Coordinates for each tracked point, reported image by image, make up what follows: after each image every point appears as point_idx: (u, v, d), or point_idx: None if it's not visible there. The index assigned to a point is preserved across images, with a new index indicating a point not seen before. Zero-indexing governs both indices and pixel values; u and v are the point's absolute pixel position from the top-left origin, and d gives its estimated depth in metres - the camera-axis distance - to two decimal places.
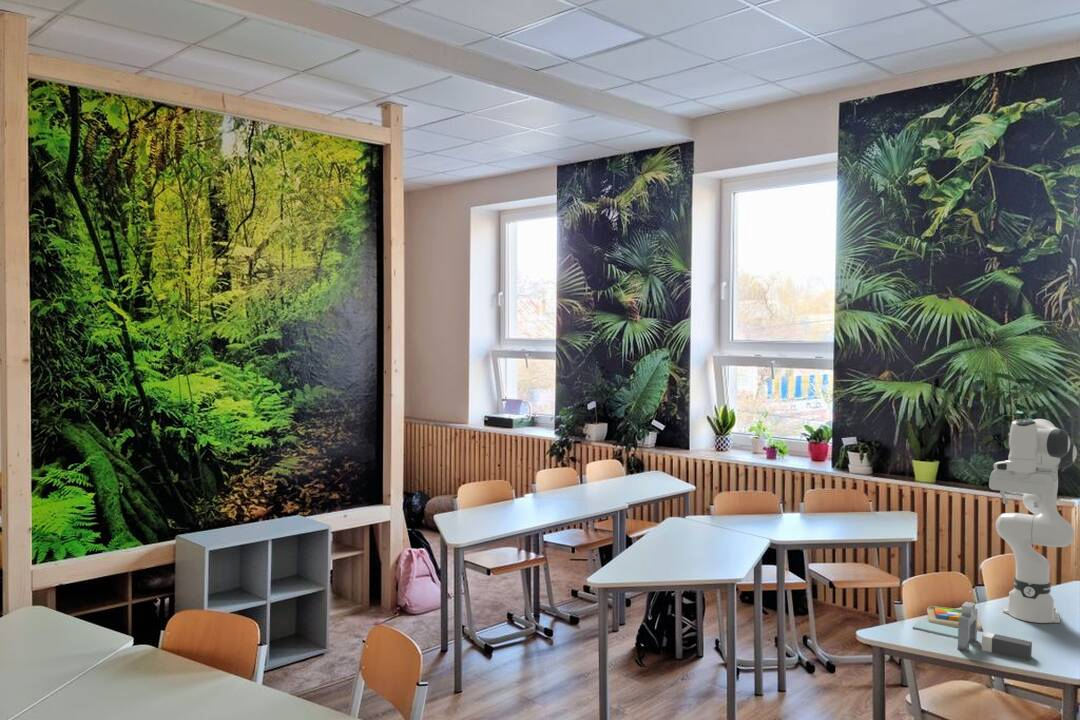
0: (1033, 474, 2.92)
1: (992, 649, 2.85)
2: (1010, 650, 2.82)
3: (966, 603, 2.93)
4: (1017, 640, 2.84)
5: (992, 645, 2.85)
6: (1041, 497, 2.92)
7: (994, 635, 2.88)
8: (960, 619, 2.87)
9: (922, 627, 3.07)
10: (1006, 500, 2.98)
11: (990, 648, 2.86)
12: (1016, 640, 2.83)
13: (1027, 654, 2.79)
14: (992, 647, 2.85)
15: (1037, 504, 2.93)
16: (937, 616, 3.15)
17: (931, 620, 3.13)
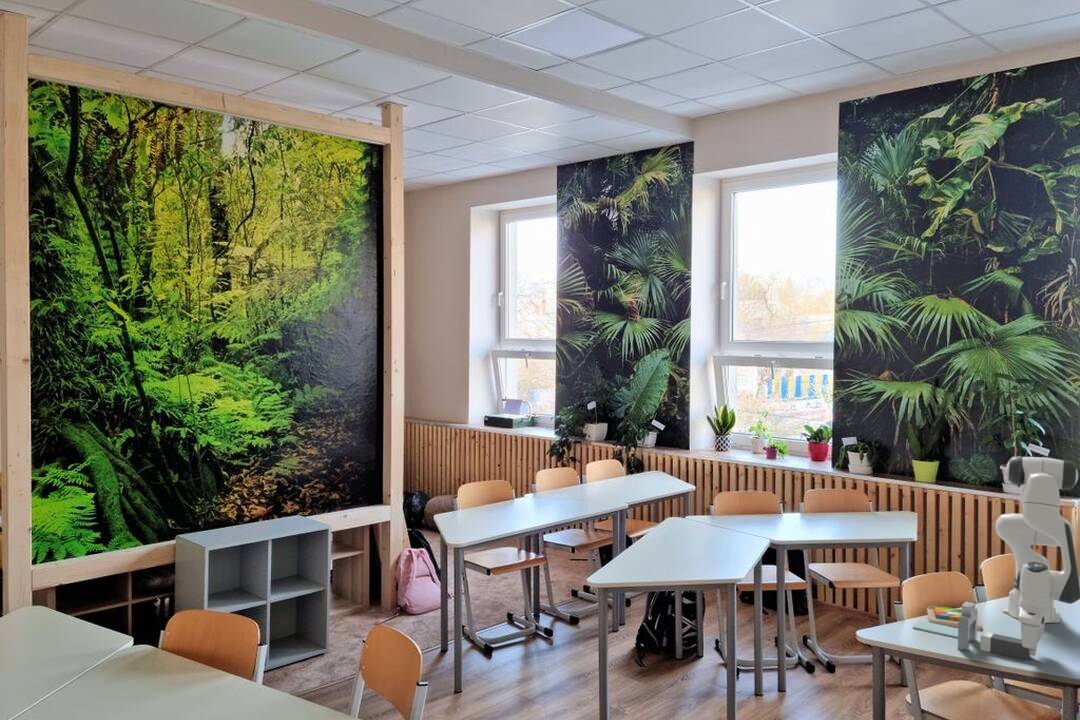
0: None
1: (991, 649, 2.85)
2: (1008, 650, 2.82)
3: (966, 603, 2.93)
4: (1016, 639, 2.84)
5: (991, 645, 2.85)
6: None
7: (992, 634, 2.88)
8: (960, 619, 2.87)
9: (922, 627, 3.07)
10: (1035, 651, 2.79)
11: (989, 647, 2.86)
12: (1015, 640, 2.84)
13: (1026, 653, 2.79)
14: (991, 646, 2.85)
15: (1036, 650, 2.80)
16: (937, 616, 3.15)
17: (931, 620, 3.13)
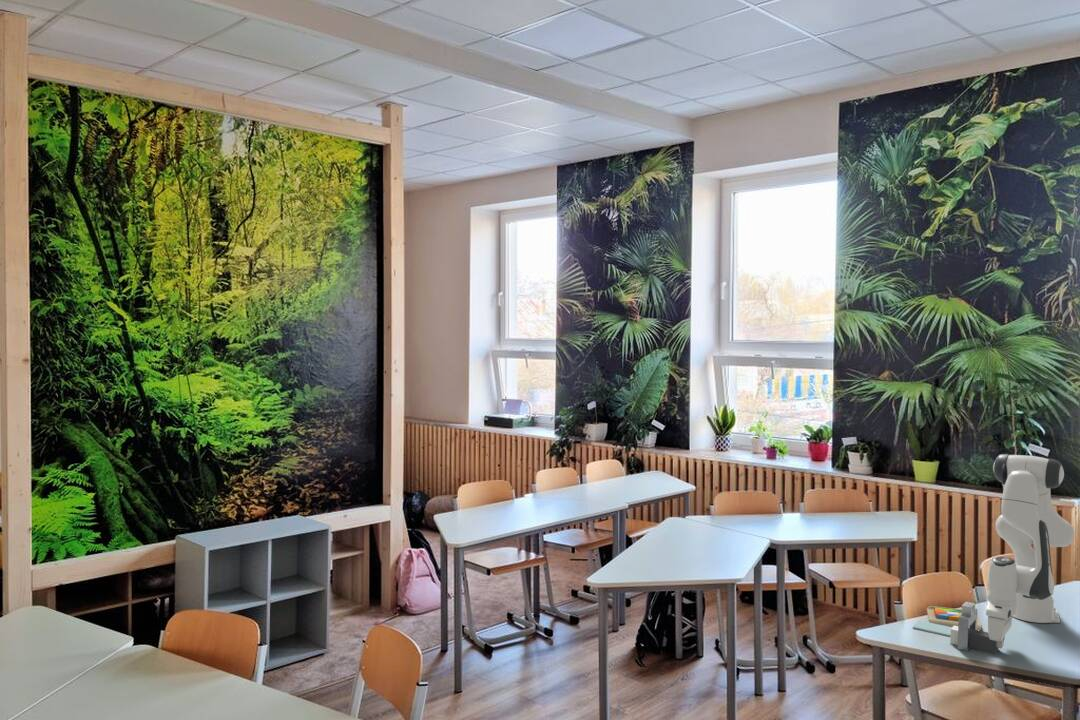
0: None
1: None
2: (977, 643, 2.88)
3: (966, 603, 2.93)
4: (985, 633, 2.90)
5: None
6: None
7: None
8: (960, 619, 2.87)
9: (922, 627, 3.07)
10: (1002, 644, 2.85)
11: None
12: (983, 633, 2.89)
13: (994, 647, 2.85)
14: None
15: (1003, 643, 2.86)
16: (937, 616, 3.15)
17: (931, 620, 3.13)
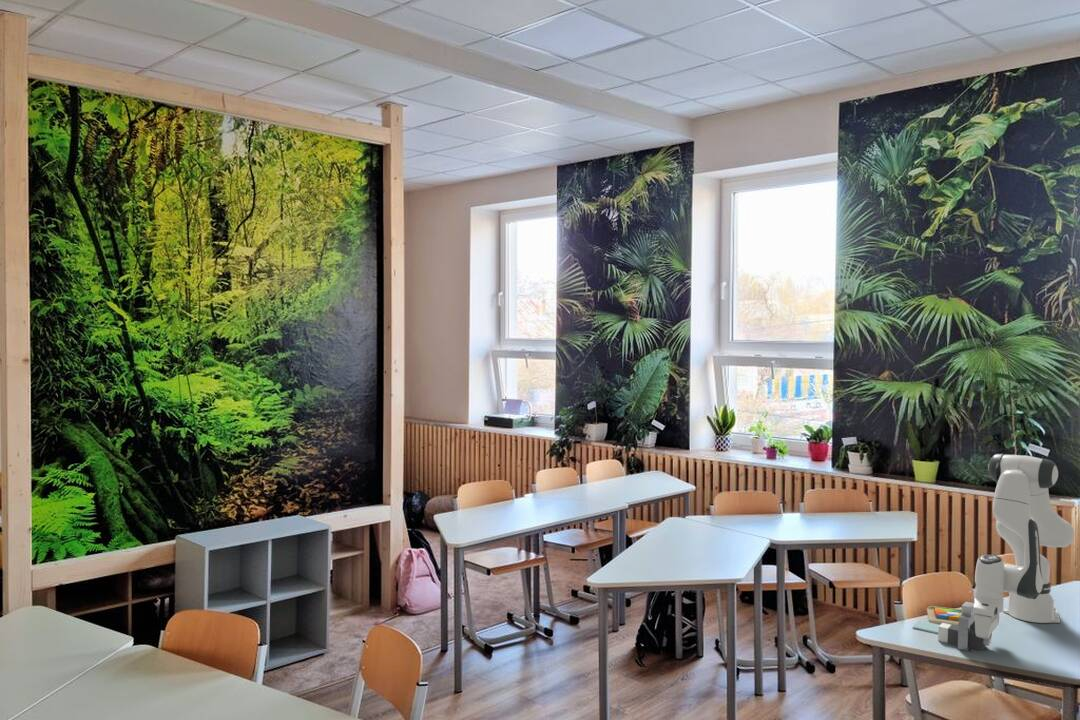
0: None
1: (948, 640, 2.94)
2: None
3: (966, 603, 2.93)
4: (972, 630, 2.92)
5: (948, 635, 2.94)
6: None
7: (950, 625, 2.97)
8: (960, 619, 2.87)
9: (922, 627, 3.07)
10: (989, 641, 2.87)
11: (946, 638, 2.94)
12: (971, 630, 2.92)
13: (981, 644, 2.87)
14: (948, 637, 2.94)
15: (990, 640, 2.89)
16: (937, 616, 3.15)
17: (931, 620, 3.13)
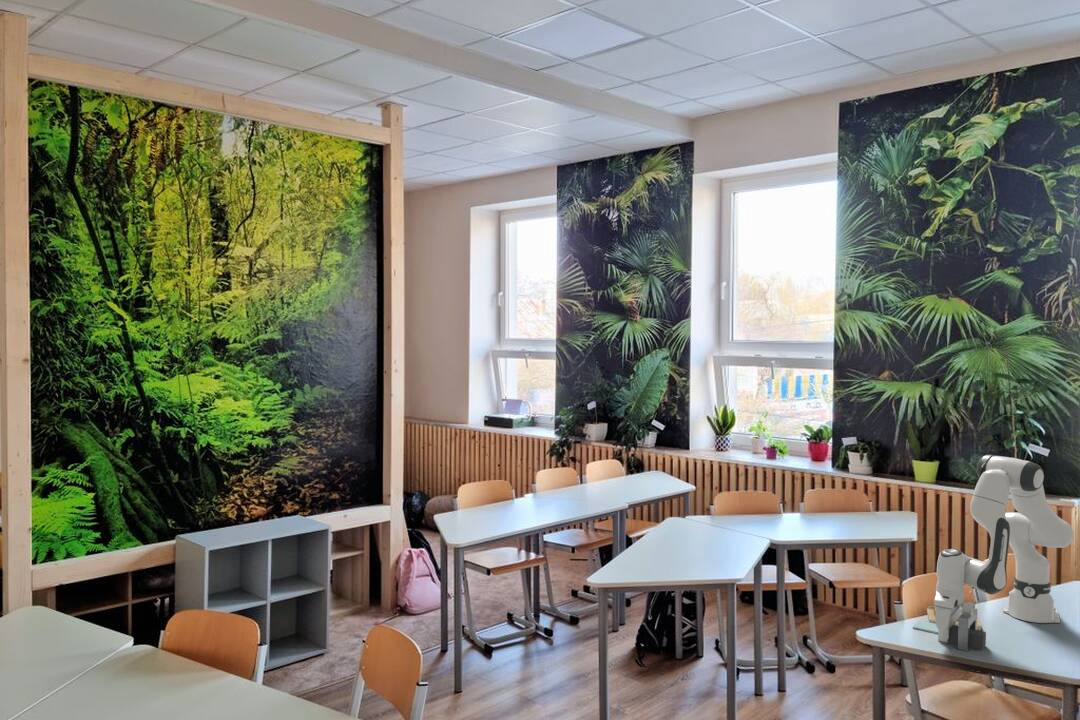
0: None
1: (948, 639, 2.94)
2: None
3: (966, 603, 2.93)
4: (972, 630, 2.92)
5: None
6: (955, 622, 2.99)
7: None
8: (960, 619, 2.87)
9: (922, 627, 3.07)
10: (949, 634, 2.93)
11: None
12: (971, 630, 2.92)
13: (981, 644, 2.87)
14: None
15: None
16: None
17: (931, 620, 3.13)
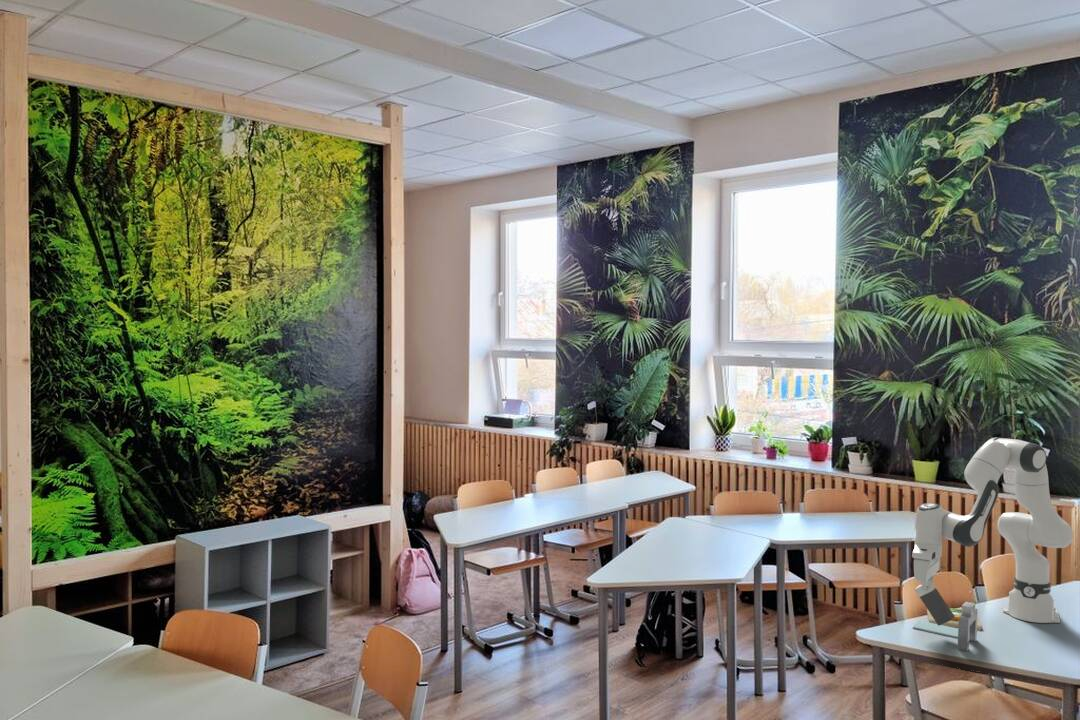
0: None
1: (922, 596, 3.00)
2: (934, 609, 2.98)
3: (966, 603, 2.93)
4: (946, 607, 2.99)
5: (926, 594, 2.99)
6: (933, 575, 3.04)
7: (934, 588, 3.01)
8: (960, 619, 2.87)
9: (922, 627, 3.07)
10: (927, 587, 2.99)
11: (922, 594, 3.00)
12: (945, 606, 2.98)
13: (943, 622, 2.96)
14: (924, 595, 3.00)
15: None
16: None
17: (931, 620, 3.13)
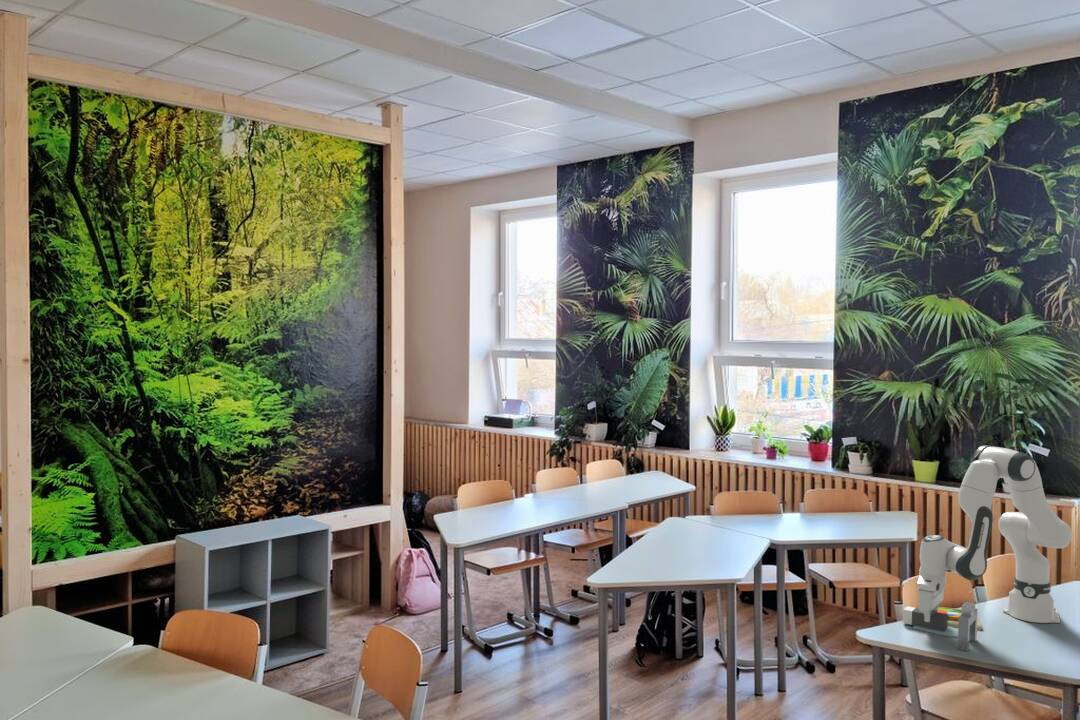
0: None
1: (912, 622, 3.10)
2: (927, 622, 3.06)
3: (966, 603, 2.93)
4: (935, 613, 3.08)
5: (912, 618, 3.10)
6: (938, 604, 3.12)
7: (914, 608, 3.13)
8: (960, 619, 2.87)
9: (922, 627, 3.07)
10: (930, 618, 3.04)
11: (910, 620, 3.10)
12: (934, 613, 3.08)
13: (942, 625, 3.03)
14: (912, 619, 3.10)
15: None
16: None
17: None
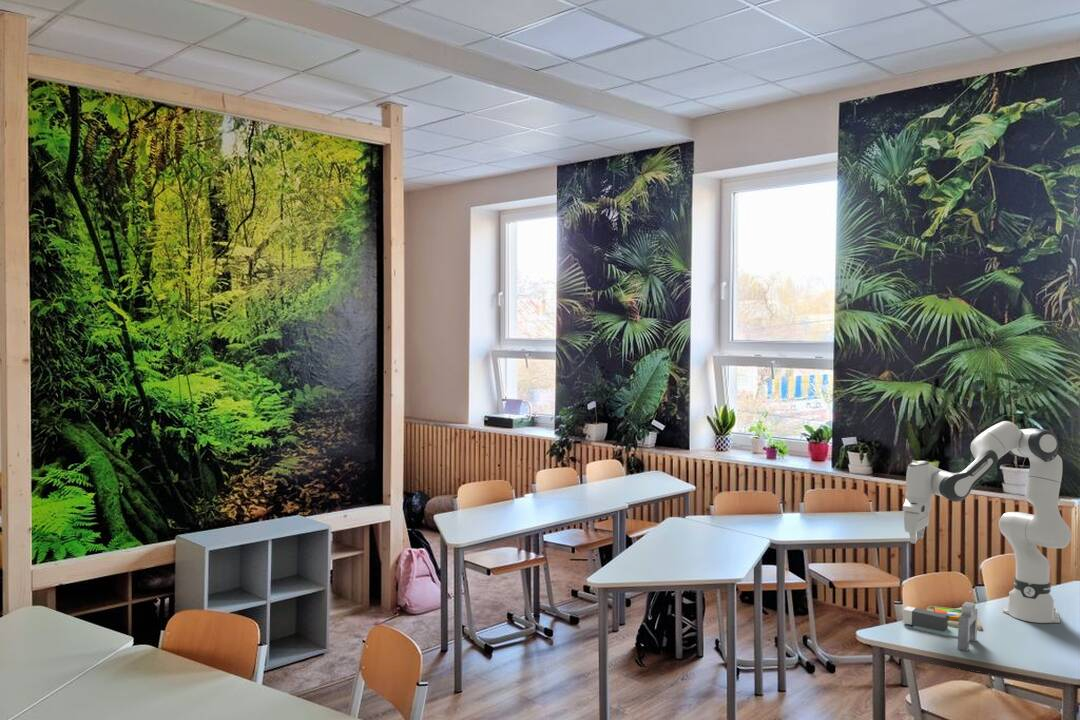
0: None
1: (912, 622, 3.10)
2: (927, 622, 3.06)
3: (966, 603, 2.93)
4: (935, 613, 3.08)
5: (912, 618, 3.10)
6: (924, 528, 3.23)
7: (914, 608, 3.13)
8: (960, 619, 2.87)
9: (922, 627, 3.07)
10: None
11: (910, 620, 3.10)
12: (934, 613, 3.08)
13: (942, 625, 3.03)
14: (912, 619, 3.10)
15: None
16: None
17: None
